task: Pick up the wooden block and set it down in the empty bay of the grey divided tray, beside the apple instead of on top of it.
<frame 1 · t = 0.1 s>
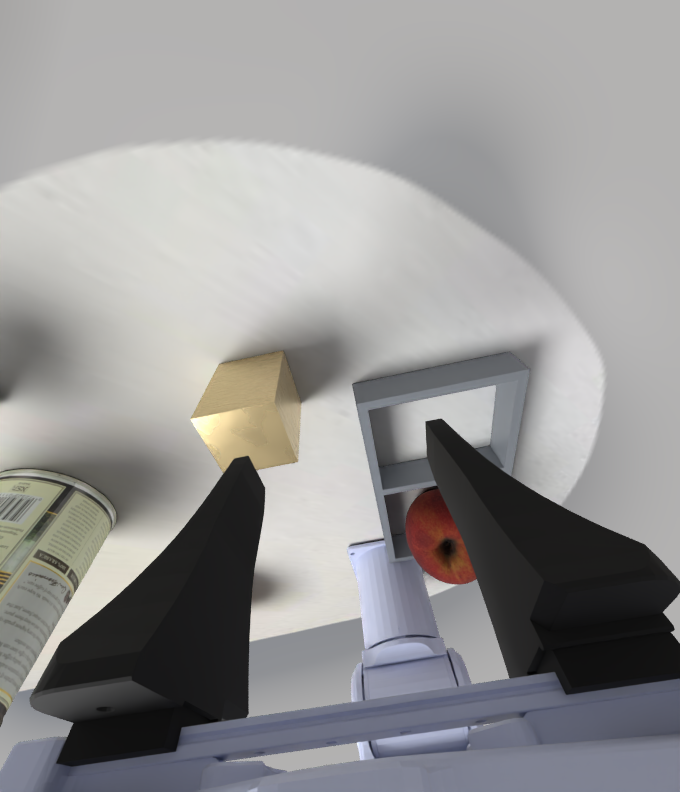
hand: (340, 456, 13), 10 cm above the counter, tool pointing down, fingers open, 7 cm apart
coffee can: (56, 505, 28), on the counter
apple: (434, 496, 31), resting in grey divided tray
grey divided tray: (433, 467, 28), on the counter
wooden block: (262, 384, 22), on the counter
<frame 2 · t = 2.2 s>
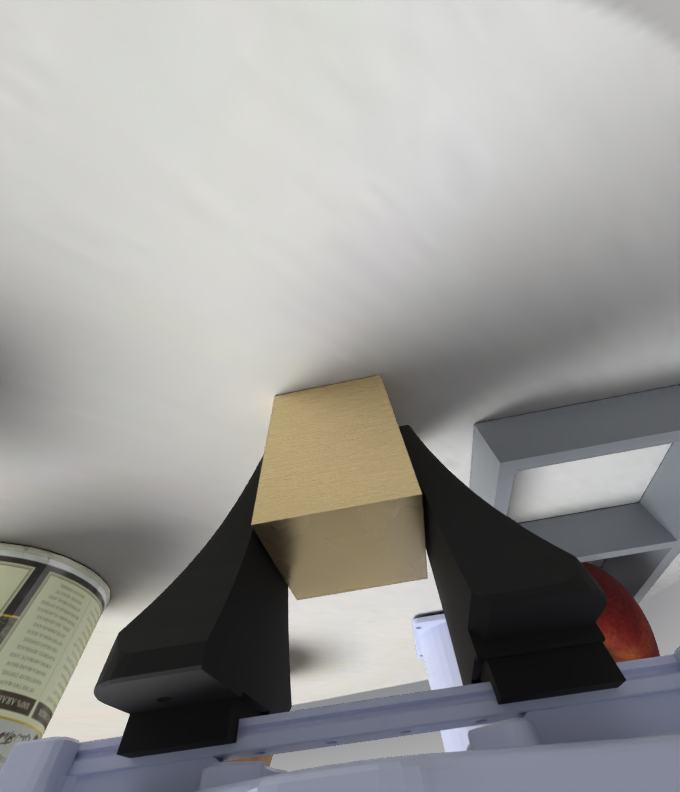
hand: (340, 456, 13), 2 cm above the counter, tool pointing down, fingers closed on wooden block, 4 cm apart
coffee can: (25, 582, 20), on the counter
apple: (538, 560, 23), resting in grey divided tray
grey divided tray: (552, 529, 20), on the counter
wooden block: (337, 426, 14), on the counter, touching gripper
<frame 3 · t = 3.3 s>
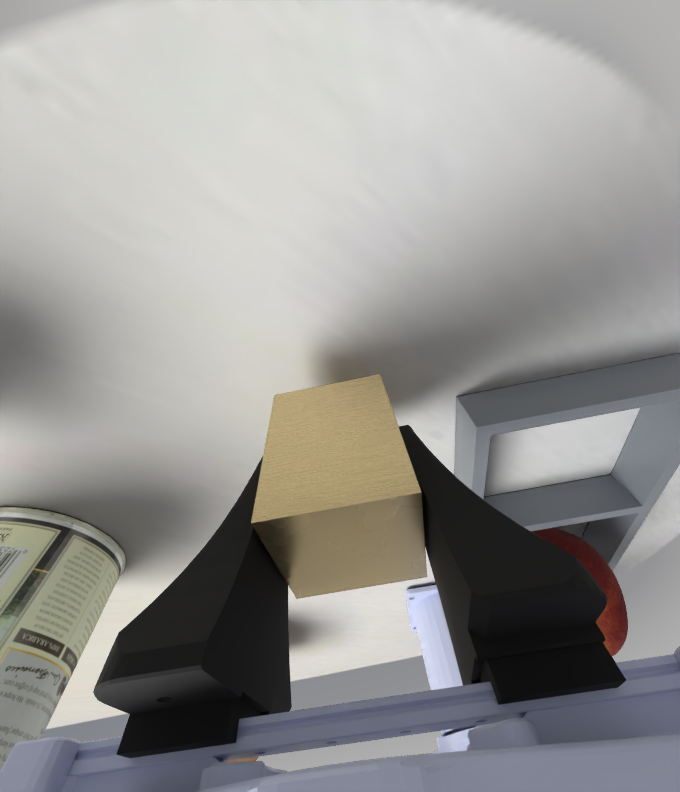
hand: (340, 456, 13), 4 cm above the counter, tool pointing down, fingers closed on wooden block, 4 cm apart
coffee can: (48, 549, 22), on the counter
apple: (522, 532, 25), resting in grey divided tray
grey divided tray: (533, 500, 22), on the counter
wooden block: (337, 425, 14), point 2 cm above the counter, touching gripper
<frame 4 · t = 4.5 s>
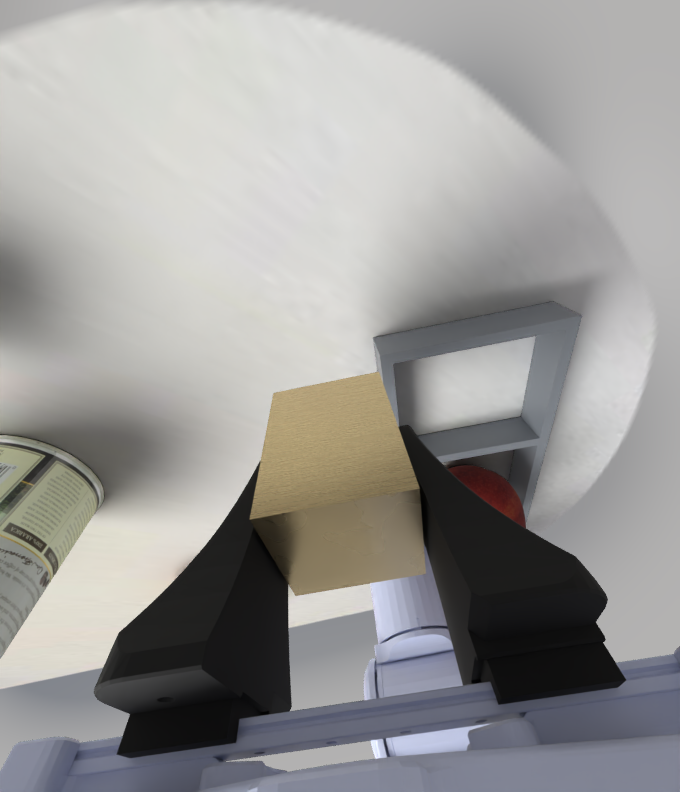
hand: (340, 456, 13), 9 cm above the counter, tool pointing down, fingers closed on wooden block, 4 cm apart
coffee can: (36, 480, 25), on the counter
apple: (454, 475, 28), resting in grey divided tray
grey divided tray: (457, 440, 26), on the counter
wooden block: (336, 423, 14), point 7 cm above the counter, touching gripper
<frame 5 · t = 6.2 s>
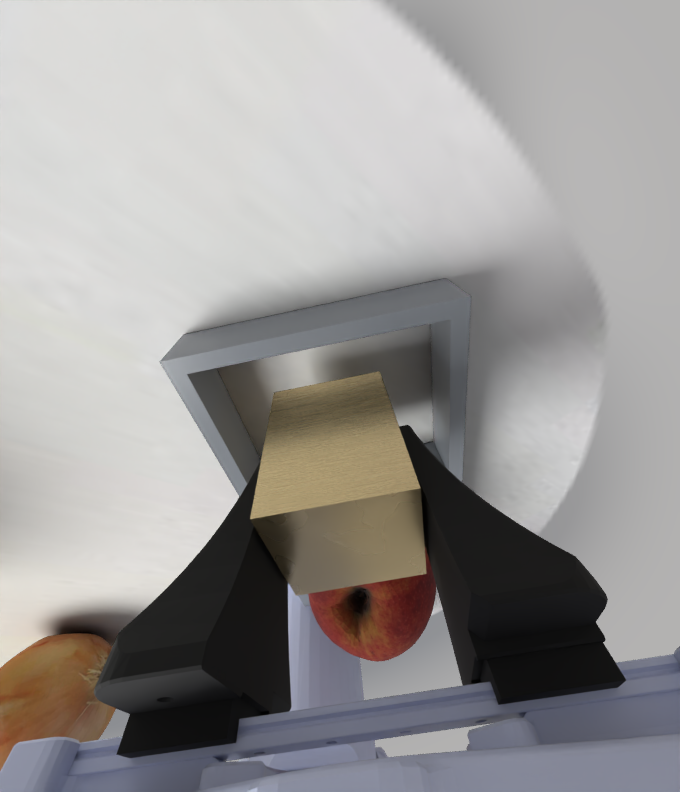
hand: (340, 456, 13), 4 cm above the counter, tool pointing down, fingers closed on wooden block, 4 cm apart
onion: (85, 633, 29), on the counter
apple: (363, 514, 22), resting in grey divided tray
grey divided tray: (353, 473, 19), on the counter
wooden block: (336, 422, 14), point 2 cm above the counter, touching gripper
when the fingers open (3 cm above the counter, at t = 7.2 s): wooden block drops 1 cm, resting in grey divided tray.
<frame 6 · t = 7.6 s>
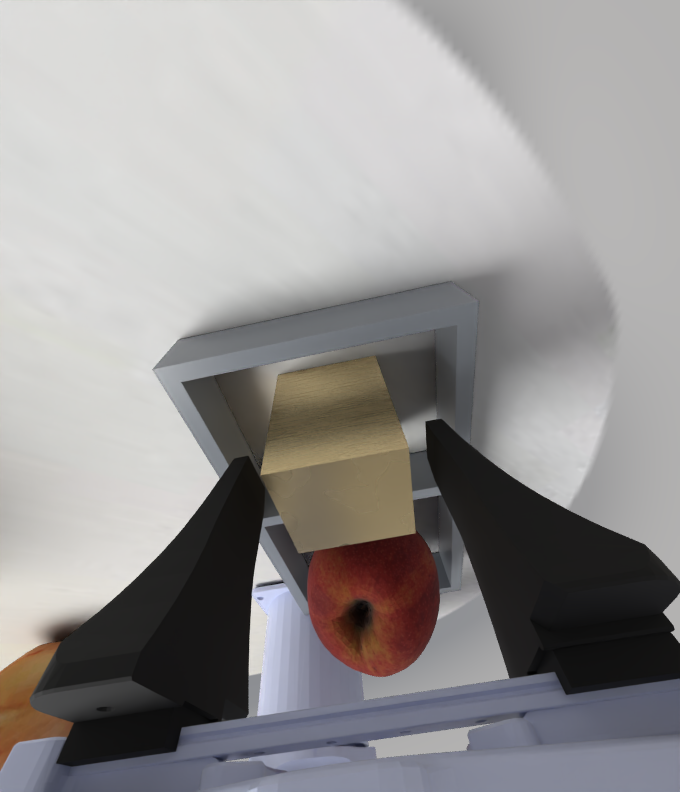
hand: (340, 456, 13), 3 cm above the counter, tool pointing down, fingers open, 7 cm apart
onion: (81, 640, 29), on the counter
apple: (364, 521, 21), resting in grey divided tray
grey divided tray: (354, 480, 19), on the counter
wooden block: (335, 404, 15), resting in grey divided tray
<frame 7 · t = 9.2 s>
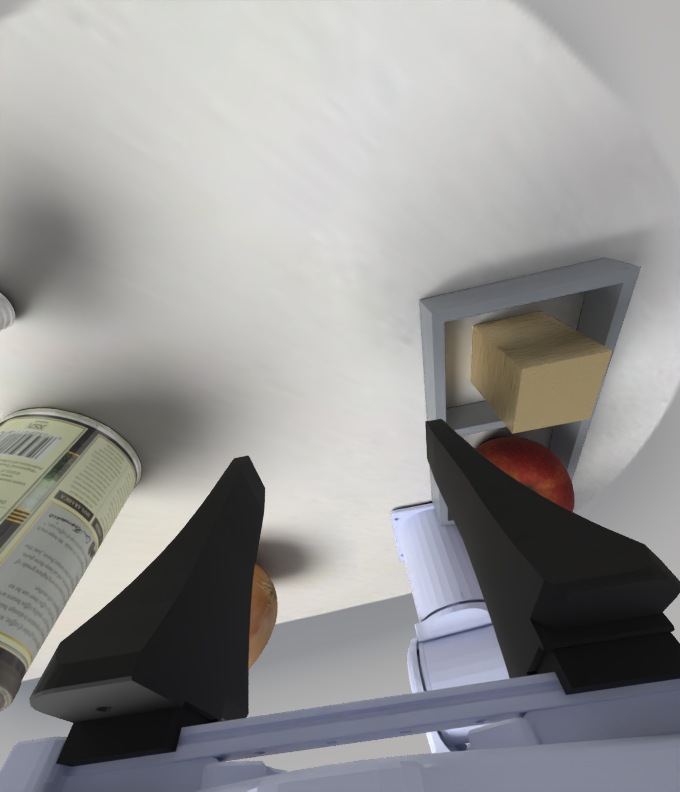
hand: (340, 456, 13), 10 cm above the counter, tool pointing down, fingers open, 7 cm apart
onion: (237, 562, 35), on the counter
coffee can: (75, 456, 25), on the counter
apple: (492, 449, 28), resting in grey divided tray
grey divided tray: (497, 411, 25), on the counter
wooden block: (503, 348, 22), resting in grey divided tray
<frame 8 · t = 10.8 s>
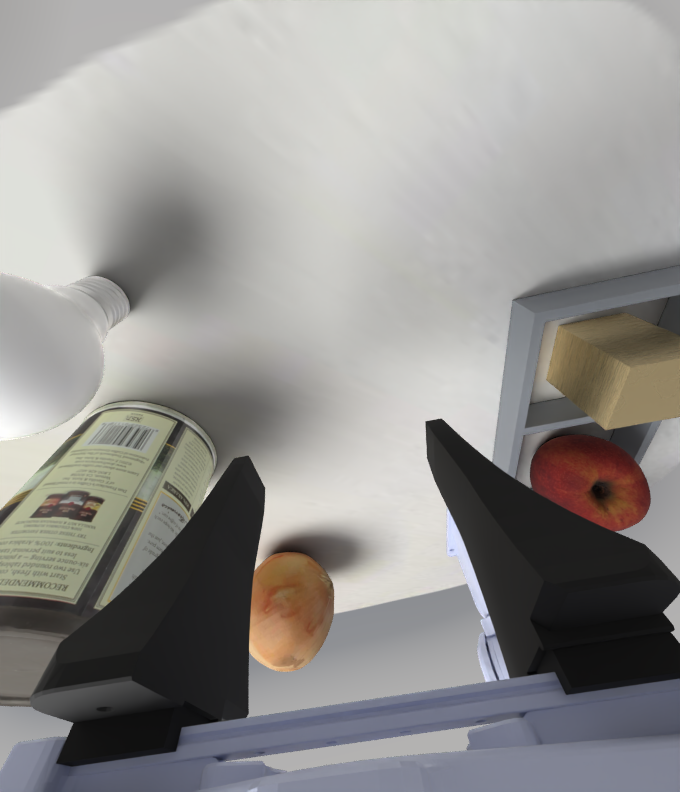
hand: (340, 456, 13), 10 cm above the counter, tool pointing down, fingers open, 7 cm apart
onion: (289, 556, 36), on the counter
lightbulb: (112, 295, 19), on the counter
coffee can: (154, 449, 26), on the counter
apple: (553, 447, 29), resting in grey divided tray
grey divided tray: (566, 409, 26), on the counter
wooden block: (582, 348, 23), resting in grey divided tray
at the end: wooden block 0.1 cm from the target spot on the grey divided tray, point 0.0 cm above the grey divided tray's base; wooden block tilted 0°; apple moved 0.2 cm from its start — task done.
